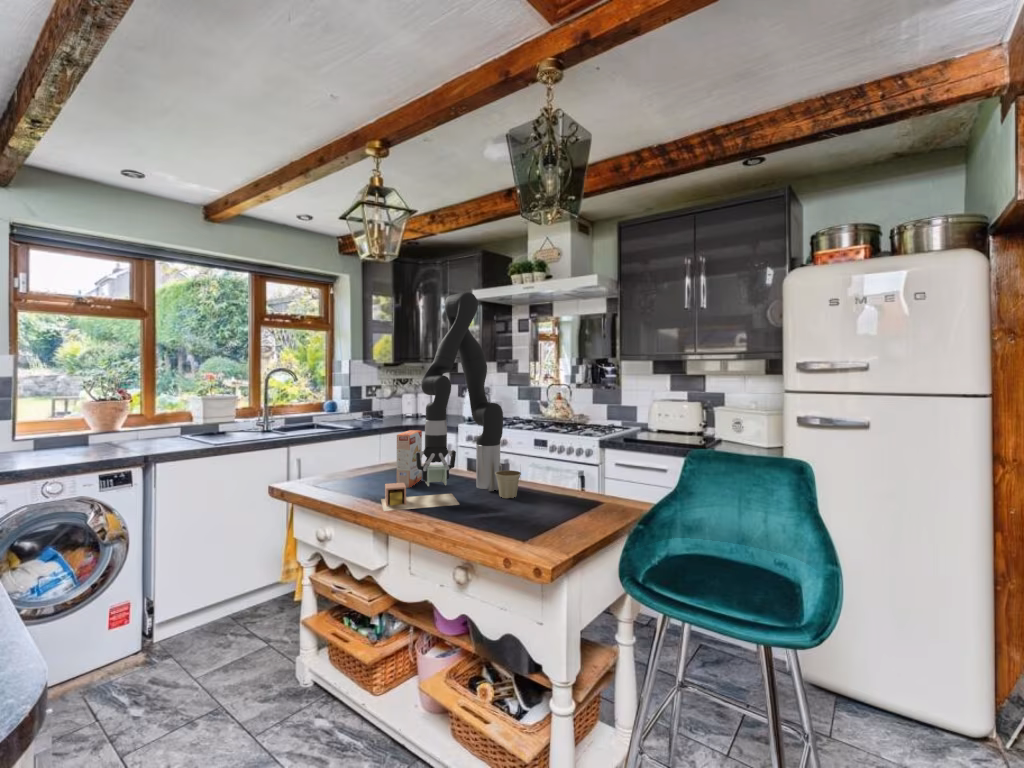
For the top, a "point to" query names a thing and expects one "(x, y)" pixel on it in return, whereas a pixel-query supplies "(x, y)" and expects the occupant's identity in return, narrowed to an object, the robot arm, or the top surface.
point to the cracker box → (408, 457)
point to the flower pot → (508, 483)
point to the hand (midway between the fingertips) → (435, 480)
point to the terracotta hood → (395, 487)
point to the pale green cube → (436, 474)
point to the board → (422, 502)
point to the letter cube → (395, 497)
